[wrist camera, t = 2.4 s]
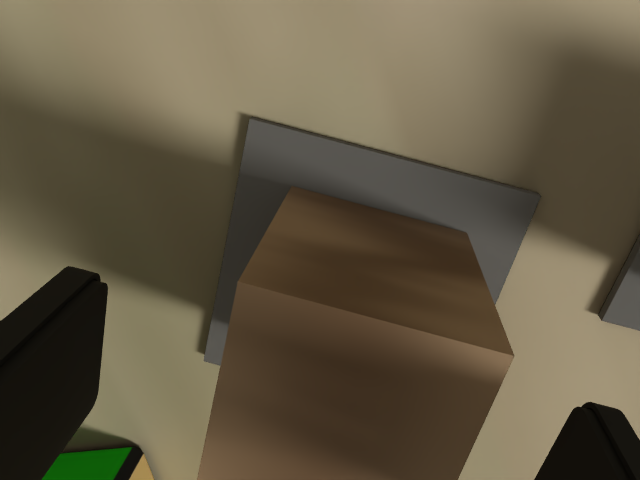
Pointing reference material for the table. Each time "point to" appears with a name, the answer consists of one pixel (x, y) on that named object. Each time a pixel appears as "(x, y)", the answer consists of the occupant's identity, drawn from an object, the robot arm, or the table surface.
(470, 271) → the walnut block
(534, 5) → the table surface
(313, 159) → the coaster
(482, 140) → the table surface
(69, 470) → the puzzle cube
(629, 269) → the coaster
